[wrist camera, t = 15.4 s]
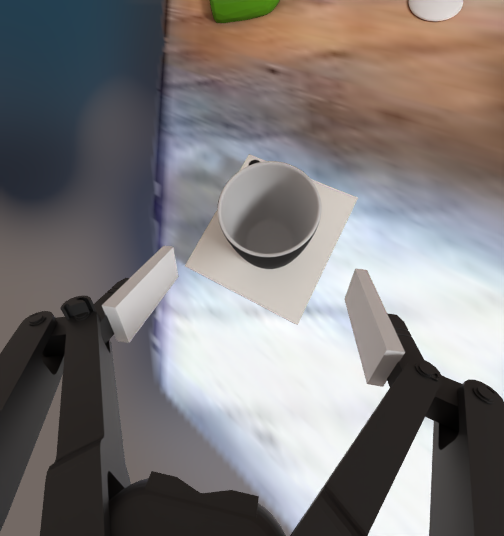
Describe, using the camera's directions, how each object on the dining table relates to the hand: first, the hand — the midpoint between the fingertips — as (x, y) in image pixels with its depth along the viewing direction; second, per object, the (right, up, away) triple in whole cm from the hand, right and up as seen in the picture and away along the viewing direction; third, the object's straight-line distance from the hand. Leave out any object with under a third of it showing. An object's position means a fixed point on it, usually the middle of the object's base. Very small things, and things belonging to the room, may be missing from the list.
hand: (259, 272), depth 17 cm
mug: (+1, +5, +13) cm, 14 cm away
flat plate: (+2, +4, +17) cm, 17 cm away
